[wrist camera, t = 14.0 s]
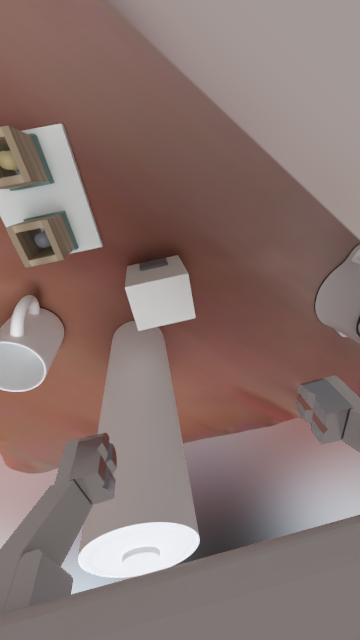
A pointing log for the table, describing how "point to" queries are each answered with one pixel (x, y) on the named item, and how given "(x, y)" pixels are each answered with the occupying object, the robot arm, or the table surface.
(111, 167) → the table surface
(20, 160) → the sleeve
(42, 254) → the sleeve seated
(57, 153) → the pin board
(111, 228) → the table surface
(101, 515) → the cylinder container
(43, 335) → the mug
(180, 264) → the white box
